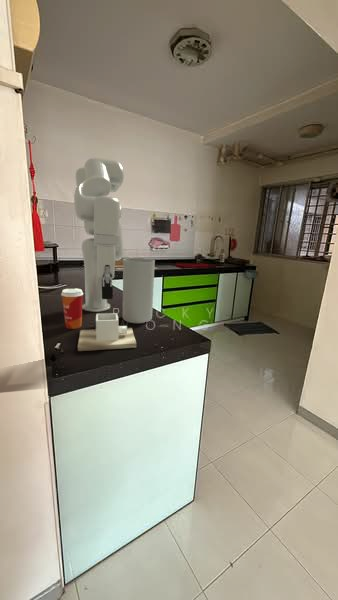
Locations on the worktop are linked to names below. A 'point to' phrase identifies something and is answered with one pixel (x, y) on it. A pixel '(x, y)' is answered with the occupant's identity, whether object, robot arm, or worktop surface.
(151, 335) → the worktop surface
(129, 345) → the board
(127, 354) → the worktop surface
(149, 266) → the cylinder vase
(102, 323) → the duct collar
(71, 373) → the worktop surface
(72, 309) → the paper cup
